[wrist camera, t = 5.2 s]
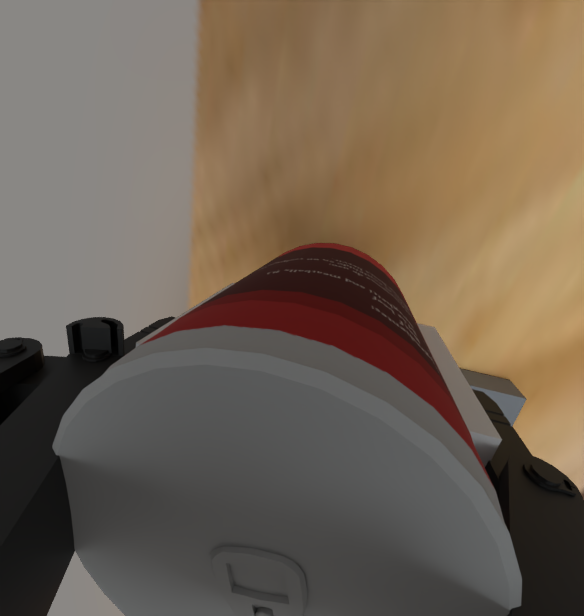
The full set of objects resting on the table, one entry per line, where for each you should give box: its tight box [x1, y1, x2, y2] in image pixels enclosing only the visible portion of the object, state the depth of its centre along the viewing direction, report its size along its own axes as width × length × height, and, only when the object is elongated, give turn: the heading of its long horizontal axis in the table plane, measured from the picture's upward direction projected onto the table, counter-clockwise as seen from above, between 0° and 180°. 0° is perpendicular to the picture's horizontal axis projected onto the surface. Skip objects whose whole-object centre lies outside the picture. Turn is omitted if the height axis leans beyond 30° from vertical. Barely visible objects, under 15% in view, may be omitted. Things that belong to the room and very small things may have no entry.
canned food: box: [52, 243, 522, 616], centre depth 10 cm, size 8×8×11 cm
